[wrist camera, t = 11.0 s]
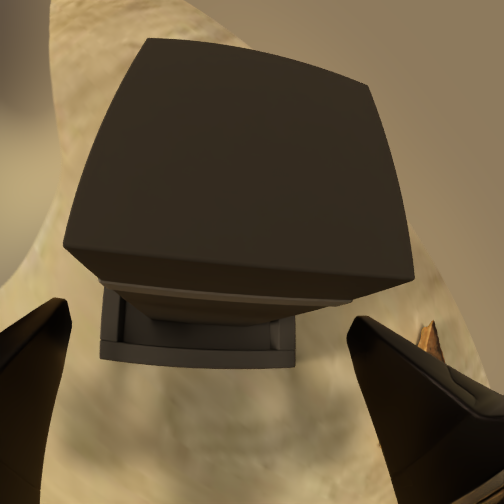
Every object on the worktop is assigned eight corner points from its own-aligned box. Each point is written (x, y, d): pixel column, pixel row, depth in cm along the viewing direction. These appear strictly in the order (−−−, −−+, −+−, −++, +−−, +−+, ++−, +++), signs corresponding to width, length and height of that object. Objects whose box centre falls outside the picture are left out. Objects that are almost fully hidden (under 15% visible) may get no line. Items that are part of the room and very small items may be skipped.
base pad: (282, 364, 17) (295, 367, 15) (108, 356, 14) (99, 358, 12) (280, 215, 20) (291, 201, 18) (126, 200, 17) (122, 183, 15)
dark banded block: (246, 327, 16) (418, 283, 4) (149, 320, 15) (57, 249, 3) (249, 245, 18) (369, 84, 6) (158, 235, 17) (145, 35, 5)
